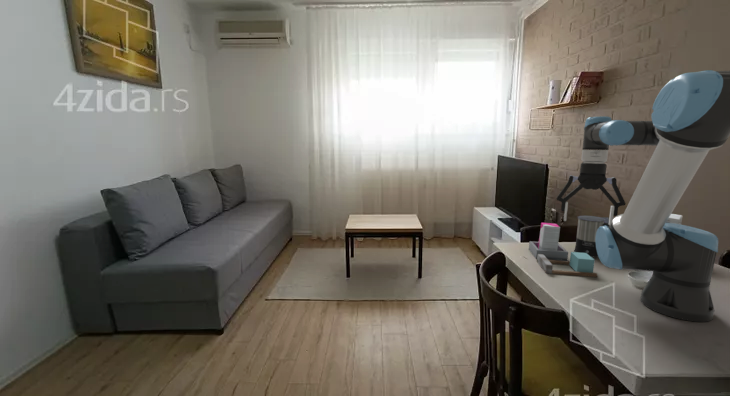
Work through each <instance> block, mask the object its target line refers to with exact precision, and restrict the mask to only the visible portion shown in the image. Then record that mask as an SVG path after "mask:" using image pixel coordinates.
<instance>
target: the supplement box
mask: <svg viewBox="0 0 730 396" xmlns="http://www.w3.org/2000/svg"><path fill="white" fill-rule="evenodd" d="M539 229H540V231H539V238H538V242H539V245H538V249H539V250H555V251H557V248H558V243H559V239H560V231H561V226H560V225H558V224H557V223H554V222H553V223H552V222H551V223H550V222H541V223H540V228H539Z"/></svg>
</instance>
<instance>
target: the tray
mask: <svg viewBox="0 0 730 396" xmlns="http://www.w3.org/2000/svg"><path fill="white" fill-rule="evenodd" d="M538 245H539V241H531V240H530V241H529V244H528V251H529V252H530V253H531V254H532V256H533V255H534V256H533V257H534V258H535V260H537V255H538V254H543V255H544V256H545V257H546V258H547V259H548V260H558V261H568V258H569V257H568V256H569V252H568V250H567V249H565V248H564V246H562V245H561V244H560V243H559V242H558V248H557V251H555V250H539V249H538Z"/></svg>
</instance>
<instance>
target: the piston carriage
mask: <svg viewBox="0 0 730 396" xmlns="http://www.w3.org/2000/svg"><path fill="white" fill-rule="evenodd" d="M569 261H570V264H569V265H568V266H570V267H571V268H572V269H573V270H574V271H575V272H588V273H594V269H595V261H596V260H595V258H594V257H591V256H589V255H588V254H587V253H579V252H574V251H571V252H570V257H569Z"/></svg>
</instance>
